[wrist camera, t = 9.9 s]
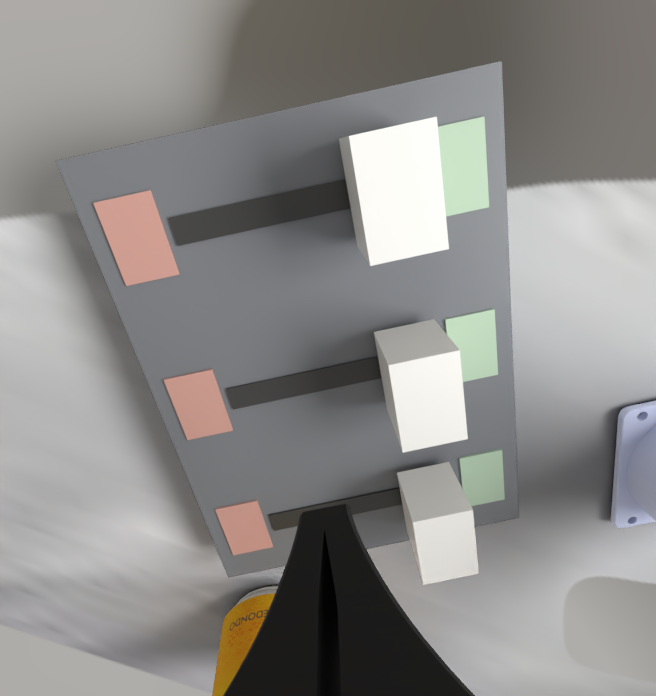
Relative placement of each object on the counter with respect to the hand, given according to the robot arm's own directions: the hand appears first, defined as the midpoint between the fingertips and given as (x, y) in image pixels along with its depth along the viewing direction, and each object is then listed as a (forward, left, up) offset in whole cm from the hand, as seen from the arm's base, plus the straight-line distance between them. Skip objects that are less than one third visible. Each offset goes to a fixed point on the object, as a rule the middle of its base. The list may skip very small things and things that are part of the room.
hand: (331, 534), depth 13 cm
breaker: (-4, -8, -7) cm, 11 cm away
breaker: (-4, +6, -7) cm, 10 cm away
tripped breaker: (-4, -1, -7) cm, 8 cm away
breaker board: (-1, -1, -9) cm, 9 cm away
